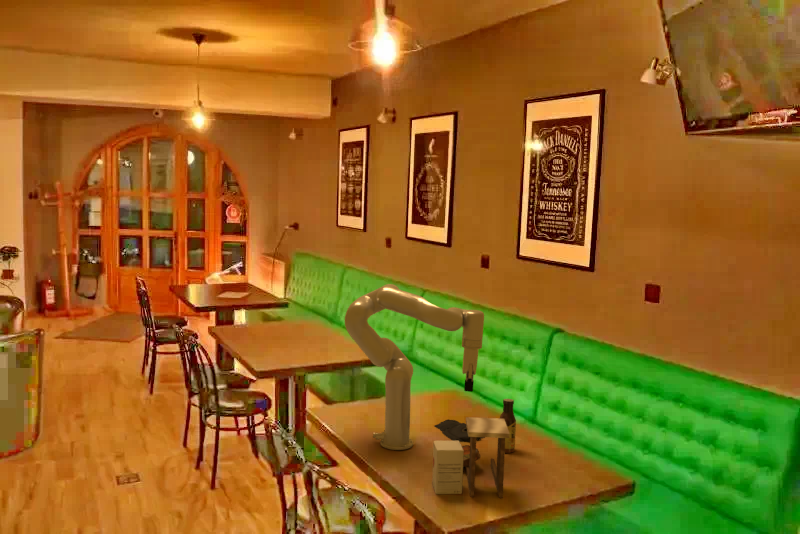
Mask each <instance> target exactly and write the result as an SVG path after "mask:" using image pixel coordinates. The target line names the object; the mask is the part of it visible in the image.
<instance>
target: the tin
mask: <svg viewBox="0 0 800 534" xmlns="http://www.w3.org/2000/svg"><path fill="white" fill-rule="evenodd" d="M461 446H462V448H463V450H464V456H463V468H464V467H465V466H468V465H469V458H470V444H469V445H467V444H465V445H461ZM480 458H481V453H480V452H479V449H478V448H477V447H476V460H475V462H477V461H478V460H480Z"/></svg>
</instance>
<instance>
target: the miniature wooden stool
mask: <svg viewBox="0 0 800 534" xmlns="http://www.w3.org/2000/svg"><path fill="white" fill-rule="evenodd" d="M465 424H466V426H467V431H468V436H469V437H470V442H469V446H470V458H469V465H468V466H464V467H465V472H466V478H467V485H468V492H469V496H470V498H474V497H475V486H476V485H475V482H476V480H475V479H476V477H475V476H476V461H475V460H476V448H477V441H476V437H485V438H493V439H495V438H497V451H496V452H497V454H496V455H497V456H496V460H495V458H490V468H491V472H492V476H493V477H492V478H493V479H494V484H495V488H496V493H497V496H498V498H499V499H503V497H504V478H505V476H504V475H505V473H504V472H505V458H506V457H505V454H506V453H505V438H509V437H510V433H509V431H508V428H507V425H506V422H505V420H504V419H500V417H499V418H496V417H494V418H493V417H491V418H490V417H469V416H466V417H465Z"/></svg>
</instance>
